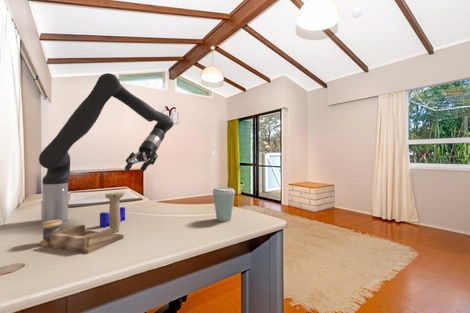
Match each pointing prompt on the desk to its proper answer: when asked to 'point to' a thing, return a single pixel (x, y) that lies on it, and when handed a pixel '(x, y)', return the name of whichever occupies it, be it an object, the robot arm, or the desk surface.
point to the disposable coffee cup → (223, 202)
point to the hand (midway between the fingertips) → (134, 170)
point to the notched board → (90, 249)
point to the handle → (114, 210)
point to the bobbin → (49, 230)
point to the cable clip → (105, 217)
